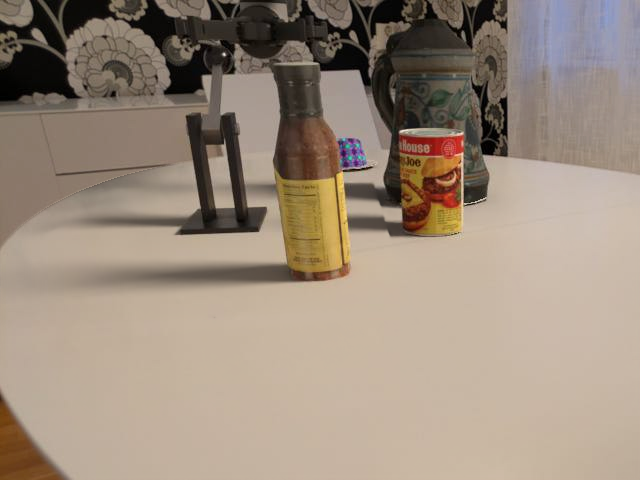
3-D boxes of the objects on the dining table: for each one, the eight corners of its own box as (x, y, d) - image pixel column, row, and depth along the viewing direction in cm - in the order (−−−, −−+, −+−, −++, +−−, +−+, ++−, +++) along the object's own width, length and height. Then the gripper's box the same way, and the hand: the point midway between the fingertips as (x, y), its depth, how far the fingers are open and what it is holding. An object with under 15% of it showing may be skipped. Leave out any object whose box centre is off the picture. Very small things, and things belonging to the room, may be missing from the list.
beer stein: (480, 210, 97) (482, 16, 87) (351, 205, 100) (338, 16, 89) (496, 189, 112) (499, 22, 102) (383, 185, 115) (375, 21, 104)
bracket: (199, 218, 91) (181, 110, 85) (268, 216, 93) (254, 109, 87) (181, 240, 80) (159, 118, 75) (259, 237, 82) (244, 117, 76)
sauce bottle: (319, 266, 71) (300, 61, 63) (365, 275, 68) (351, 62, 60) (273, 282, 66) (245, 61, 58) (320, 293, 63) (298, 63, 55)
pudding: (357, 161, 140) (355, 134, 138) (389, 168, 132) (387, 140, 129) (304, 166, 133) (301, 138, 131) (334, 174, 125) (332, 144, 122)
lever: (207, 63, 91) (201, 38, 88) (235, 63, 92) (230, 39, 89) (200, 149, 82) (193, 124, 79) (231, 148, 83) (225, 124, 80)
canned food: (393, 225, 88) (389, 129, 83) (448, 219, 92) (447, 127, 87) (416, 239, 82) (413, 136, 77) (474, 232, 85) (474, 133, 80)
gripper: (344, 59, 109) (347, 61, 91) (181, 58, 105) (149, 59, 86) (340, 7, 106) (343, -2, 87) (172, 3, 102) (137, -8, 83)
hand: (247, 28), depth 87 cm, fingers open, 13 cm apart
